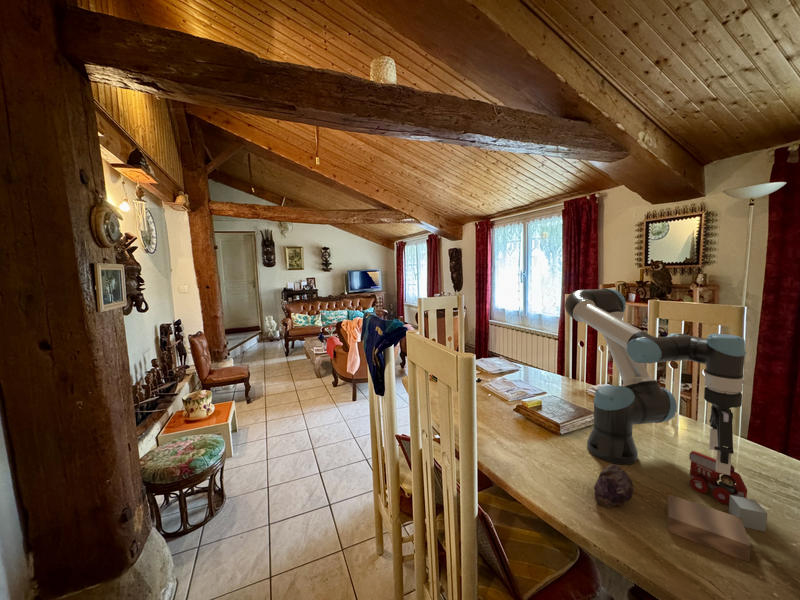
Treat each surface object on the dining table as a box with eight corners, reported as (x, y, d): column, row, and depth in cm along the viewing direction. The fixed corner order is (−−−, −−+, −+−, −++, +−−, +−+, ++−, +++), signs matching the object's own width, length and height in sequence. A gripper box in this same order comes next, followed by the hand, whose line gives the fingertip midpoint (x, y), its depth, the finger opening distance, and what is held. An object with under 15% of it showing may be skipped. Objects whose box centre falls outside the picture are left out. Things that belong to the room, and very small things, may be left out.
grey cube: (739, 526, 82) (740, 508, 81) (728, 512, 86) (729, 495, 86) (765, 531, 80) (767, 513, 79) (753, 517, 84) (755, 499, 84)
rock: (588, 504, 92) (630, 522, 85) (586, 478, 91) (629, 495, 83) (599, 478, 100) (639, 493, 93) (598, 455, 99) (638, 468, 91)
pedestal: (668, 531, 81) (669, 517, 80) (667, 507, 88) (668, 494, 88) (749, 562, 72) (750, 546, 72) (740, 532, 80) (741, 517, 79)
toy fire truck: (740, 512, 86) (743, 476, 85) (682, 485, 97) (684, 453, 96) (749, 502, 89) (752, 468, 88) (693, 477, 100) (695, 446, 99)
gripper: (753, 408, 78) (747, 489, 80) (733, 379, 97) (729, 445, 99) (710, 401, 83) (706, 478, 84) (700, 375, 102) (696, 438, 104)
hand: (718, 461), depth 92 cm, fingers open, 13 cm apart
